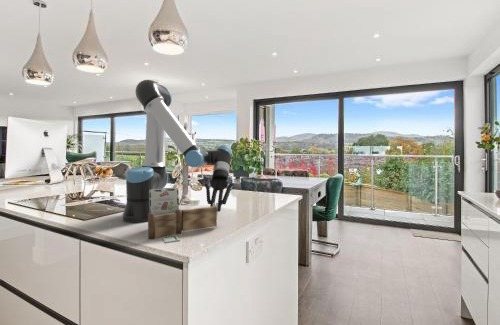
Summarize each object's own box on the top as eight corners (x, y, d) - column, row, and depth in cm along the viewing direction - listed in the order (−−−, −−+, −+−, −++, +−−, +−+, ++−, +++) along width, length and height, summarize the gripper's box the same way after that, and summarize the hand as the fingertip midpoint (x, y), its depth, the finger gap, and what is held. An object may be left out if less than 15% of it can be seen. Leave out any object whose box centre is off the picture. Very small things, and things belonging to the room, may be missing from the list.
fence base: (180, 232, 109) (180, 209, 109) (182, 233, 108) (182, 210, 107) (147, 238, 101) (147, 213, 101) (149, 240, 99) (149, 214, 99)
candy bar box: (177, 225, 118) (177, 187, 118) (179, 228, 114) (179, 188, 113) (149, 228, 114) (148, 188, 113) (150, 231, 109) (149, 190, 109)
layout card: (161, 238, 102) (161, 236, 102) (175, 236, 104) (175, 234, 104) (165, 243, 96) (165, 241, 96) (179, 240, 99) (179, 239, 99)
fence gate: (183, 231, 108) (183, 210, 107) (181, 230, 109) (181, 209, 109) (216, 226, 115) (216, 207, 114) (214, 225, 117) (214, 206, 116)
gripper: (236, 178, 135) (231, 222, 120) (208, 178, 136) (199, 221, 121) (234, 168, 129) (228, 213, 114) (205, 168, 130) (196, 212, 115)
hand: (213, 217), depth 118 cm, fingers closed
